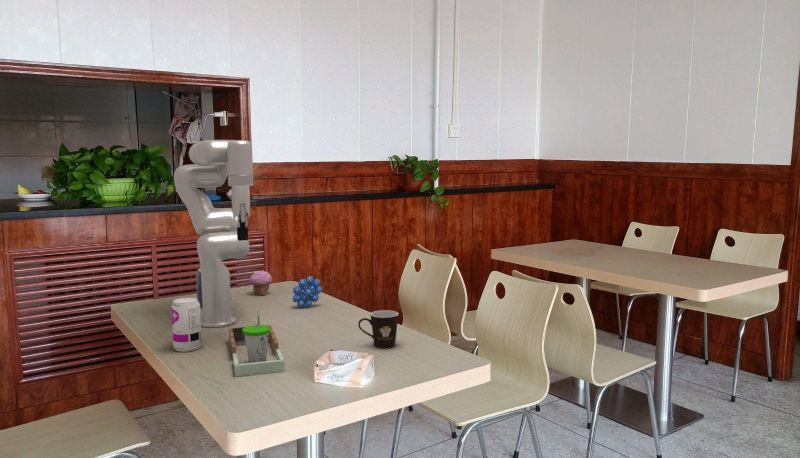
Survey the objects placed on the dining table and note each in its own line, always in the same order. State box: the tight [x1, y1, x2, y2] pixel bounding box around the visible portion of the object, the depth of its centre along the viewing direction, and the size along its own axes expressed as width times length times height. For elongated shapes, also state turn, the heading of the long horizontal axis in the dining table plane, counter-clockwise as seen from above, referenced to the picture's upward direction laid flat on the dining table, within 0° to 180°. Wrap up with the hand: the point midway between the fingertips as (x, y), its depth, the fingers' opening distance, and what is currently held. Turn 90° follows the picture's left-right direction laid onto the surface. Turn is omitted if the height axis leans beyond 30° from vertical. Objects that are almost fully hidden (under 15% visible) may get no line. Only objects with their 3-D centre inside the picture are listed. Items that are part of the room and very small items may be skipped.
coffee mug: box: [357, 309, 399, 350], centre depth 193 cm, size 12×9×10 cm
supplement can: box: [170, 296, 203, 353], centre depth 190 cm, size 8×8×15 cm
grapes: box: [292, 275, 323, 308], centre depth 240 cm, size 12×7×12 cm, turn 115°
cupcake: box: [249, 270, 273, 296], centre depth 261 cm, size 9×9×10 cm
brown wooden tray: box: [228, 324, 279, 361], centre depth 190 cm, size 20×13×4 cm, turn 18°
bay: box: [232, 348, 285, 377], centre depth 173 cm, size 10×13×3 cm
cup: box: [242, 308, 271, 363], centre depth 175 cm, size 8×8×15 cm
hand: (242, 239), depth 195 cm, fingers closed
